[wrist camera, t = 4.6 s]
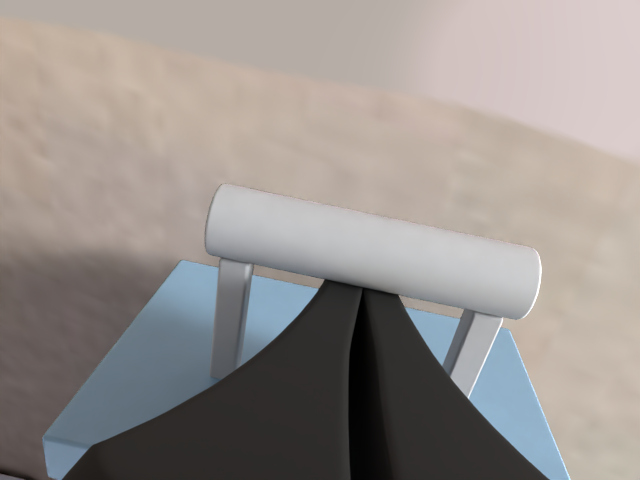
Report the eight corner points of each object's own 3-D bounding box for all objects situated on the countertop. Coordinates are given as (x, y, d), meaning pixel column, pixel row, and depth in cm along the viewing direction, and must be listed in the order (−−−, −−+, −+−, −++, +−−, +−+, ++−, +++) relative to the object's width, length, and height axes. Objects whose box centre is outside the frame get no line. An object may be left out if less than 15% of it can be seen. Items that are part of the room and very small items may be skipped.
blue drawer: (186, 114, 12) (7, 214, 6) (572, 193, 12) (759, 374, 6) (169, 505, 20) (80, 717, 14) (405, 557, 20) (417, 795, 14)
